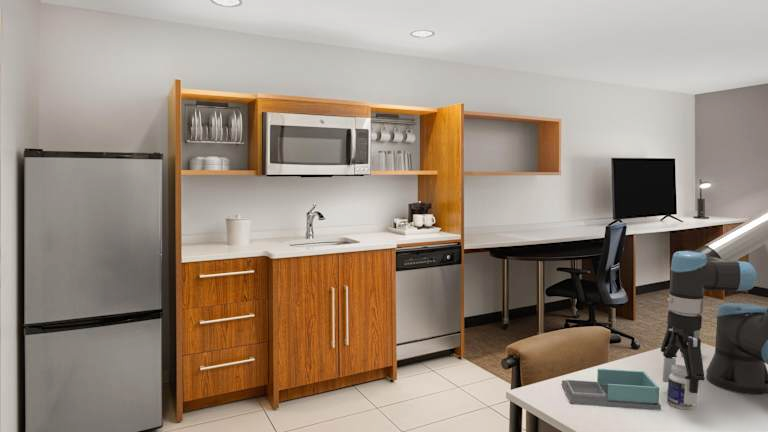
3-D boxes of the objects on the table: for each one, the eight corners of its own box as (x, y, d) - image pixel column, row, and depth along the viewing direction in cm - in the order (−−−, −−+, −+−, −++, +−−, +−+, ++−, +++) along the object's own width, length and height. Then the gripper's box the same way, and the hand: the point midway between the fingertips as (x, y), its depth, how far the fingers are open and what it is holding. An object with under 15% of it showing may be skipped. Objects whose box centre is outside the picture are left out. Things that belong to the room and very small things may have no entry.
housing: (643, 385, 139) (644, 371, 138) (658, 403, 128) (659, 388, 128) (597, 382, 141) (597, 368, 140) (608, 399, 130) (608, 384, 130)
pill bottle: (683, 411, 127) (686, 373, 126) (662, 402, 132) (664, 365, 131) (697, 407, 129) (699, 369, 128) (675, 398, 134) (677, 362, 134)
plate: (644, 390, 139) (644, 382, 139) (660, 410, 128) (661, 401, 127) (561, 384, 143) (561, 376, 143) (570, 403, 131) (570, 395, 131)
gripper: (651, 299, 141) (646, 372, 143) (690, 325, 117) (683, 413, 119) (680, 300, 140) (674, 374, 142) (725, 327, 116) (718, 416, 117)
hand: (678, 392), depth 130 cm, fingers open, 13 cm apart
